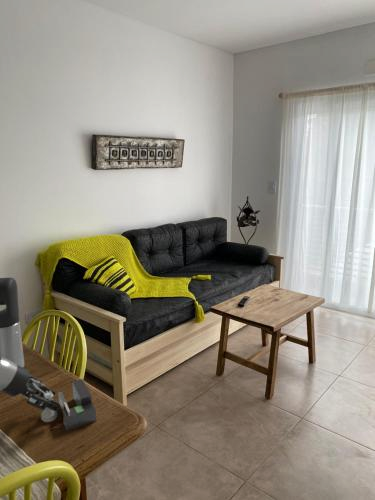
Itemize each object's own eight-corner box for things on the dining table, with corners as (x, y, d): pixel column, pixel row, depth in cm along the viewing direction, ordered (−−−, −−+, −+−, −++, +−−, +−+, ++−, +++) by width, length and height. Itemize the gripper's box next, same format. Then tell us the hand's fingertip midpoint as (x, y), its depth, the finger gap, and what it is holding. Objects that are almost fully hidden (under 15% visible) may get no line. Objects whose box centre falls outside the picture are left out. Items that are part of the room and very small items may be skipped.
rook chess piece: (60, 416, 113) (58, 391, 111) (48, 425, 109) (46, 399, 107) (50, 411, 115) (48, 387, 113) (37, 419, 111) (35, 395, 109)
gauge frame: (56, 404, 118) (54, 386, 117) (83, 396, 122) (81, 379, 121) (66, 430, 107) (64, 411, 105) (96, 420, 111) (94, 402, 109)
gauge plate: (59, 402, 117) (58, 391, 116) (62, 401, 117) (61, 390, 116) (67, 423, 108) (66, 411, 107) (71, 422, 108) (70, 410, 107)
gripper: (19, 377, 99) (70, 403, 107) (12, 353, 111) (58, 378, 119) (-1, 402, 97) (52, 427, 106) (-6, 375, 109) (42, 399, 118)
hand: (55, 401), depth 112 cm, fingers open, 6 cm apart
